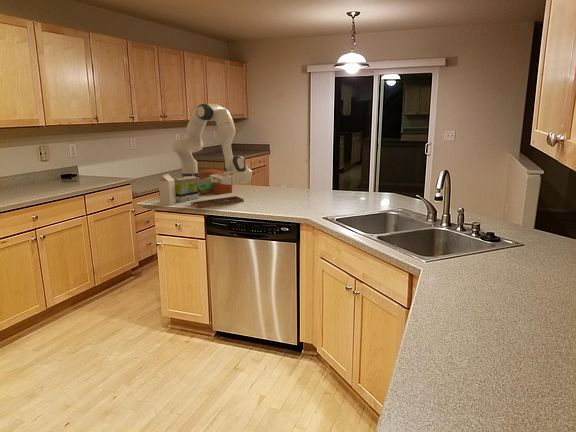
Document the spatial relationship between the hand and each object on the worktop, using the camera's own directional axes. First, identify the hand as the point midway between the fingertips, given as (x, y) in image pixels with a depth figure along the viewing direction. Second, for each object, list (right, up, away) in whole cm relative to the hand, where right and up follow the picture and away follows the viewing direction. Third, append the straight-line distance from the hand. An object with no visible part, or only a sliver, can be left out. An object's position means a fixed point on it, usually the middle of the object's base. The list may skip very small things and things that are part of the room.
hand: (208, 180), depth 265 cm
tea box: (-18, -11, +20) cm, 30 cm away
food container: (-1, -9, +1) cm, 9 cm away
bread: (-5, -4, +51) cm, 51 cm away
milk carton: (-27, -15, +8) cm, 32 cm away
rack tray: (+5, -14, +7) cm, 16 cm away
